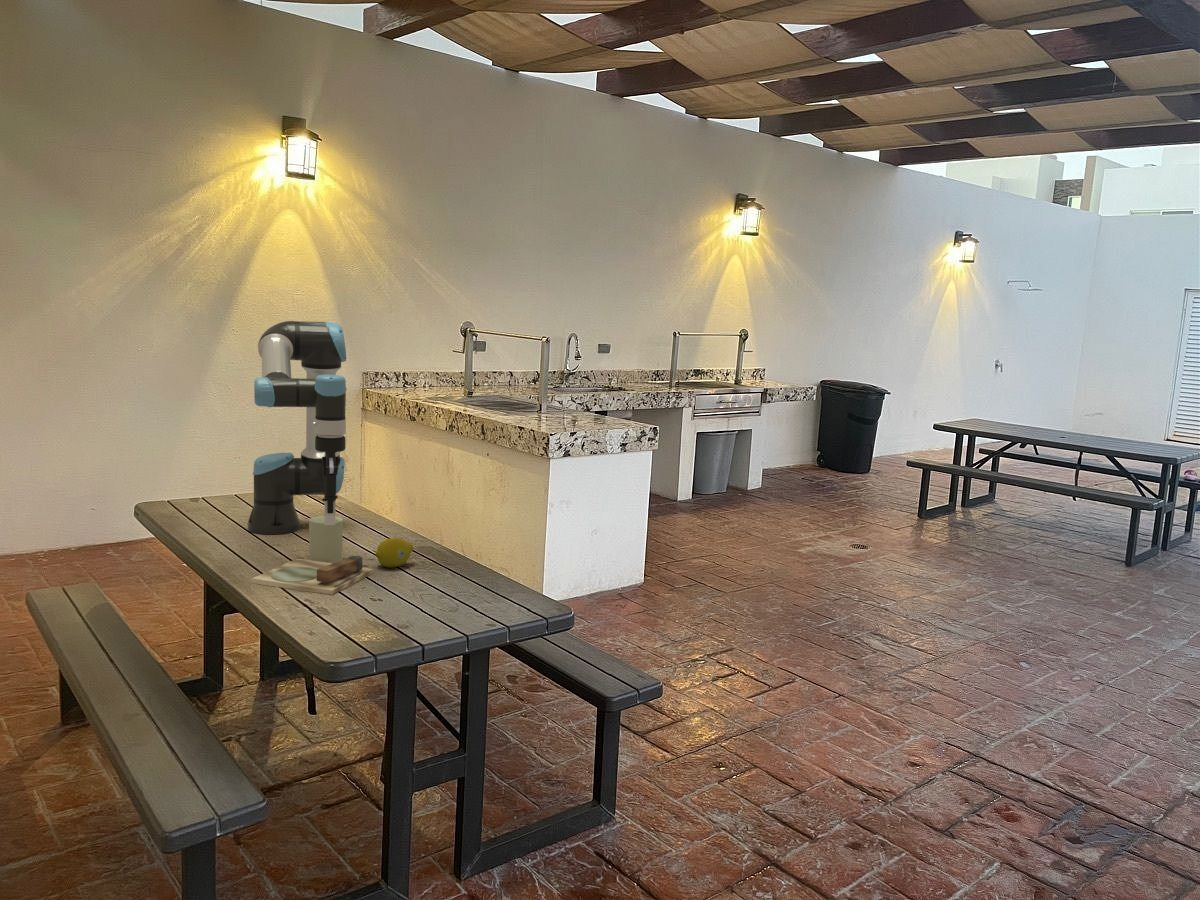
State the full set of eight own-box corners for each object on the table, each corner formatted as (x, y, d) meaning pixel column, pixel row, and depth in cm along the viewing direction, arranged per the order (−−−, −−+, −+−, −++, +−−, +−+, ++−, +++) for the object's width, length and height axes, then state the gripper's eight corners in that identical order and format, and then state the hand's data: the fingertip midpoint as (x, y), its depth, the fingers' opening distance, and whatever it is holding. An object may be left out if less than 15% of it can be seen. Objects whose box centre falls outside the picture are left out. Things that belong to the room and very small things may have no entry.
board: (297, 562, 252) (297, 557, 251) (372, 573, 246) (373, 567, 246) (251, 583, 233) (251, 576, 232) (332, 595, 227) (332, 588, 227)
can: (333, 565, 251) (333, 523, 249) (302, 562, 253) (302, 519, 251) (348, 556, 260) (349, 515, 258) (319, 553, 262) (319, 512, 260)
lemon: (378, 572, 247) (378, 543, 246) (370, 564, 254) (371, 536, 252) (417, 568, 252) (418, 540, 251) (408, 560, 259) (409, 533, 258)
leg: (353, 565, 245) (354, 555, 244) (365, 568, 243) (365, 557, 243) (315, 580, 231) (315, 569, 230) (327, 583, 229) (327, 571, 229)
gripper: (314, 431, 241) (313, 518, 245) (316, 439, 229) (315, 531, 233) (343, 431, 243) (342, 517, 247) (347, 439, 231) (346, 530, 235)
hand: (329, 524), depth 240 cm, fingers closed
